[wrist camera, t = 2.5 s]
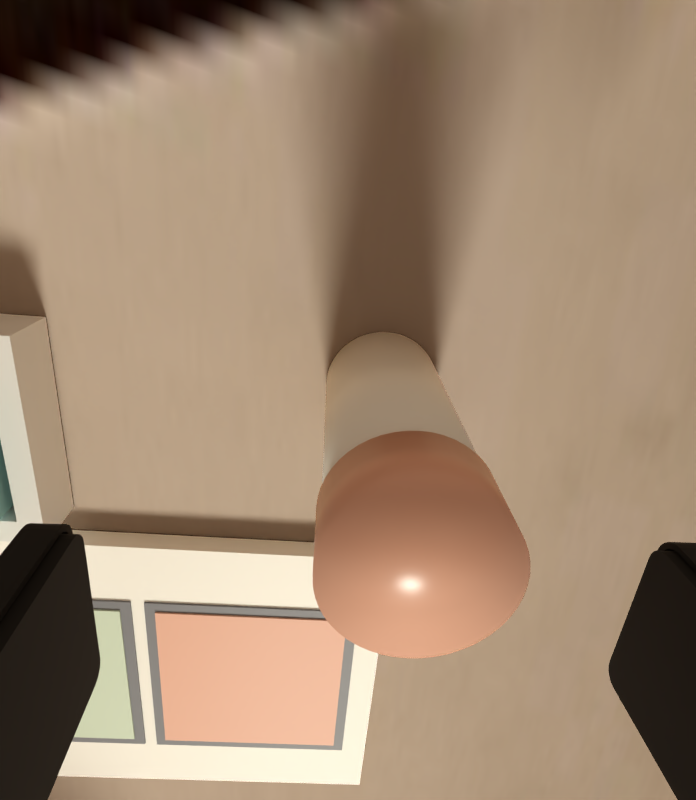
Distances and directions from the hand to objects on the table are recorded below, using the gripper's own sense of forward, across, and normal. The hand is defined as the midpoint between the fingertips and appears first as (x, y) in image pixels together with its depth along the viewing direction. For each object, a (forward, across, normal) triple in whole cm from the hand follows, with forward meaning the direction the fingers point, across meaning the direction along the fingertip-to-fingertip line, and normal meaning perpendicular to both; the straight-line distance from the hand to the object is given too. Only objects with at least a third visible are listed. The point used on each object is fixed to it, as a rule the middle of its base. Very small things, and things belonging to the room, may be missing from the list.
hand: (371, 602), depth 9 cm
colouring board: (+10, +7, +13) cm, 17 cm away
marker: (+9, -1, 0) cm, 9 cm away
